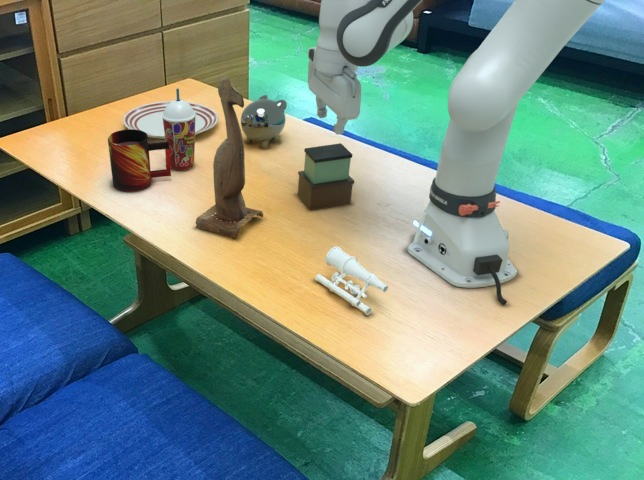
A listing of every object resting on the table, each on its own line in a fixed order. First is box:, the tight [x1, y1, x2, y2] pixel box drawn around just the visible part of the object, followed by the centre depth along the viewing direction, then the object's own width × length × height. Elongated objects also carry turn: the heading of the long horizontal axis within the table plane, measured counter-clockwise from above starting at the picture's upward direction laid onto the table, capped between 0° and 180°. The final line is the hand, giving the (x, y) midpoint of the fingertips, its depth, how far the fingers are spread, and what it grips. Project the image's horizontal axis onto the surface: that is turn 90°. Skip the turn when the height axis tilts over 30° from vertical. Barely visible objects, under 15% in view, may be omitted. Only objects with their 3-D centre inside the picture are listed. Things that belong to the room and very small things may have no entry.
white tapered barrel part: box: [314, 245, 389, 316], centre depth 128 cm, size 8×14×5 cm
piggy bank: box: [240, 94, 288, 149], centre depth 183 cm, size 11×15×12 cm
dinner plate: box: [122, 100, 219, 140], centre depth 195 cm, size 27×27×3 cm
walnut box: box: [297, 170, 355, 211], centre depth 158 cm, size 8×10×6 cm
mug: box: [107, 128, 172, 193], centre depth 166 cm, size 10×14×12 cm
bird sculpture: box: [195, 77, 264, 239], centre depth 142 cm, size 11×12×32 cm
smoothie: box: [162, 88, 196, 172], centre depth 170 cm, size 8×8×20 cm
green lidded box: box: [303, 142, 353, 184], centre depth 154 cm, size 6×9×6 cm
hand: (329, 124), depth 148 cm, fingers open, 8 cm apart
